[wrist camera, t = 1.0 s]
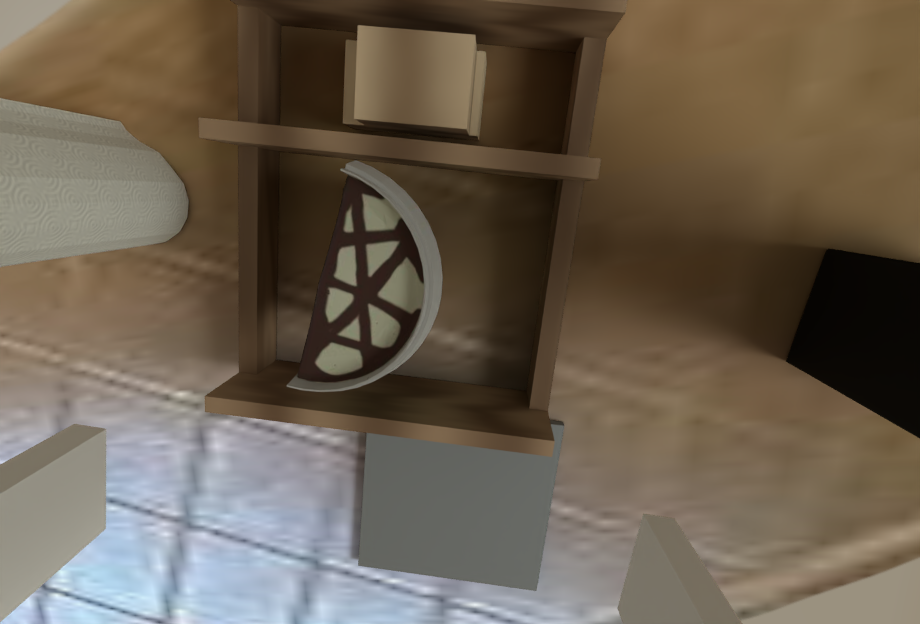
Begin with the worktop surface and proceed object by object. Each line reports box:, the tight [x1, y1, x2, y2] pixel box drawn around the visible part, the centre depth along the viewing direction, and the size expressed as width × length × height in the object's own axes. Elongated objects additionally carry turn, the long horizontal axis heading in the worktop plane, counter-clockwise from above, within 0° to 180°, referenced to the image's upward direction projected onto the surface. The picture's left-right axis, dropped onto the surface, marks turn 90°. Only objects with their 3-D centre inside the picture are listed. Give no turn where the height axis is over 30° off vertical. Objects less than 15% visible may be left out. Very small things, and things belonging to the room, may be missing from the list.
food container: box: [287, 160, 443, 392], centre depth 29 cm, size 12×6×10 cm, turn 162°
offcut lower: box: [343, 40, 487, 141], centre depth 30 cm, size 8×4×3 cm, turn 85°
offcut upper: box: [354, 25, 477, 136], centre depth 27 cm, size 6×4×3 cm
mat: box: [358, 420, 564, 591], centre depth 37 cm, size 14×14×1 cm
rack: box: [199, 0, 627, 457], centre depth 29 cm, size 21×24×7 cm
